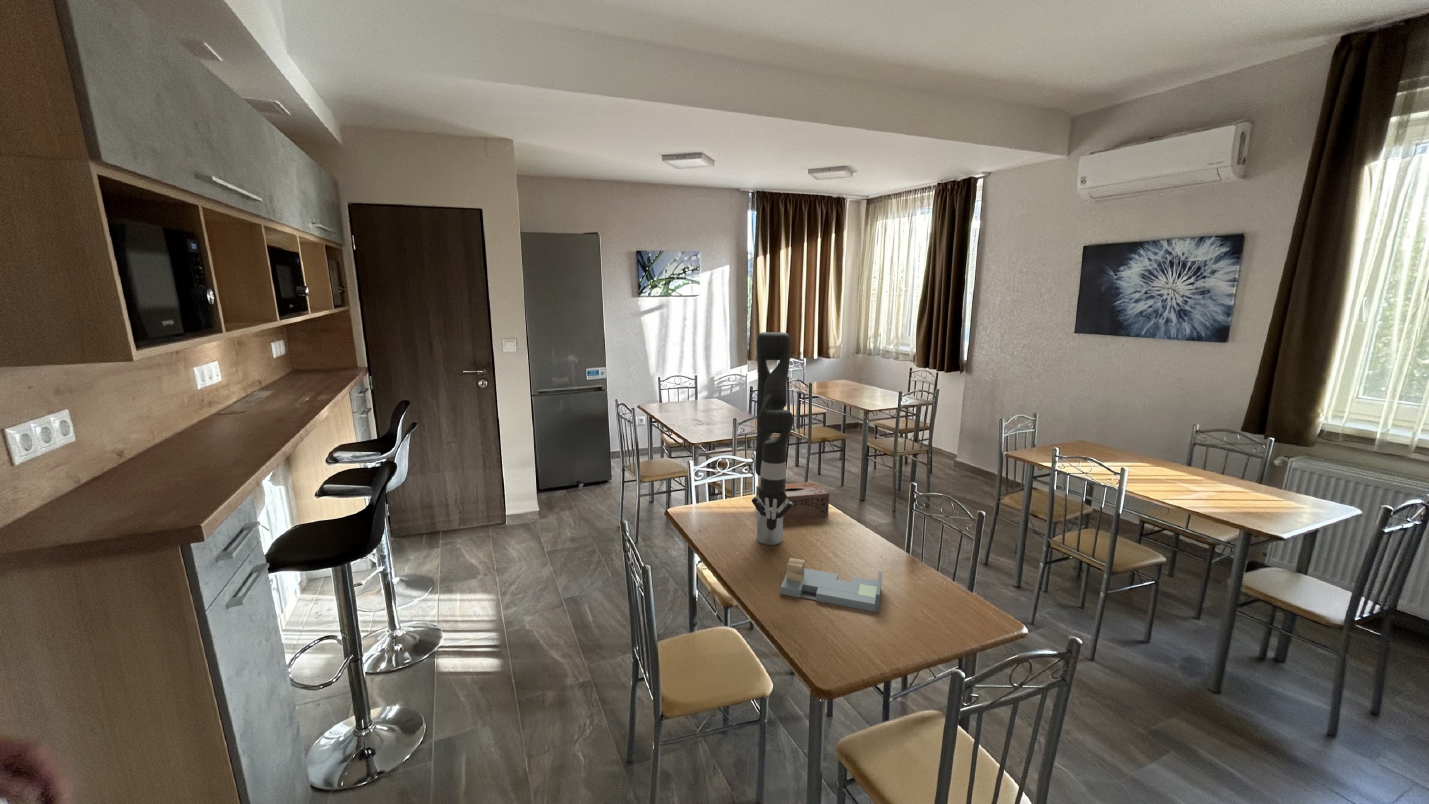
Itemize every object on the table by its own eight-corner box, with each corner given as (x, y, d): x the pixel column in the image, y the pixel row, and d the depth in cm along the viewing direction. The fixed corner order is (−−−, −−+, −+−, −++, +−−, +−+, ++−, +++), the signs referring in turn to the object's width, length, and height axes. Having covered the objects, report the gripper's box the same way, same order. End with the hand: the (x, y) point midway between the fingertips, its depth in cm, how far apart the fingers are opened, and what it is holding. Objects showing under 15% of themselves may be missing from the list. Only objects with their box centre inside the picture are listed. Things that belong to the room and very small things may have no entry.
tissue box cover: (767, 522, 220) (768, 498, 218) (755, 509, 234) (756, 486, 232) (828, 517, 227) (829, 493, 225) (813, 504, 240) (814, 481, 238)
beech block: (789, 572, 175) (790, 557, 174) (803, 575, 174) (804, 560, 173) (786, 579, 171) (787, 564, 170) (801, 582, 169) (801, 566, 169)
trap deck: (790, 572, 180) (790, 556, 179) (880, 588, 171) (882, 572, 170) (780, 594, 167) (780, 577, 166) (878, 612, 158) (879, 594, 157)
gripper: (797, 473, 170) (795, 527, 174) (755, 468, 175) (753, 521, 178) (792, 481, 163) (790, 537, 167) (748, 476, 168) (747, 530, 171)
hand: (771, 529), depth 172 cm, fingers closed
